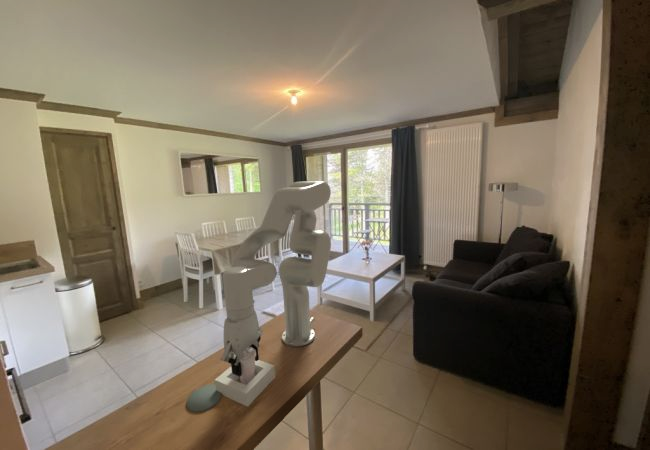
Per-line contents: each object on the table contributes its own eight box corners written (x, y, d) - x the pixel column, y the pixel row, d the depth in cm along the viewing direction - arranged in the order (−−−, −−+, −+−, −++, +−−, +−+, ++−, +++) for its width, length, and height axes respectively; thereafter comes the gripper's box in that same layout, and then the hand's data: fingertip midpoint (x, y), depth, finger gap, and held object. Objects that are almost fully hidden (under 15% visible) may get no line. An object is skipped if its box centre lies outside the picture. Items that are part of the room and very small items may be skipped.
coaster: (207, 382, 81) (207, 380, 81) (228, 392, 77) (228, 390, 77) (179, 404, 73) (179, 402, 73) (202, 417, 69) (201, 415, 69)
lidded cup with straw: (236, 393, 76) (230, 349, 74) (237, 376, 82) (232, 336, 80) (259, 387, 78) (254, 344, 75) (258, 371, 84) (254, 332, 81)
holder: (245, 365, 88) (244, 354, 87) (275, 377, 82) (274, 365, 81) (216, 391, 77) (214, 379, 76) (247, 406, 72) (246, 393, 71)
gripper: (251, 296, 85) (256, 346, 88) (205, 322, 70) (213, 382, 73) (270, 300, 82) (274, 352, 85) (226, 328, 67) (233, 391, 70)
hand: (245, 366), depth 79 cm, fingers closed on lidded cup with straw, 6 cm apart
